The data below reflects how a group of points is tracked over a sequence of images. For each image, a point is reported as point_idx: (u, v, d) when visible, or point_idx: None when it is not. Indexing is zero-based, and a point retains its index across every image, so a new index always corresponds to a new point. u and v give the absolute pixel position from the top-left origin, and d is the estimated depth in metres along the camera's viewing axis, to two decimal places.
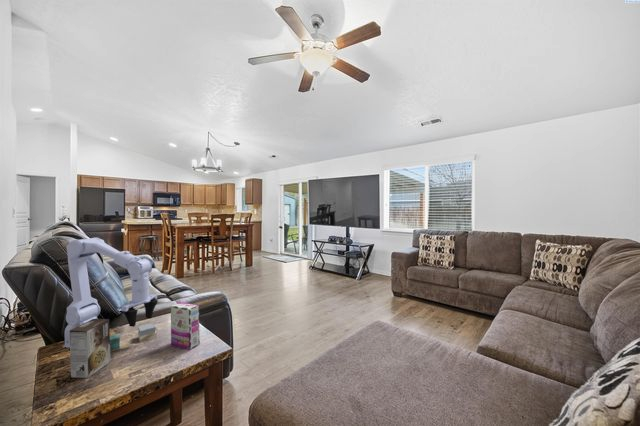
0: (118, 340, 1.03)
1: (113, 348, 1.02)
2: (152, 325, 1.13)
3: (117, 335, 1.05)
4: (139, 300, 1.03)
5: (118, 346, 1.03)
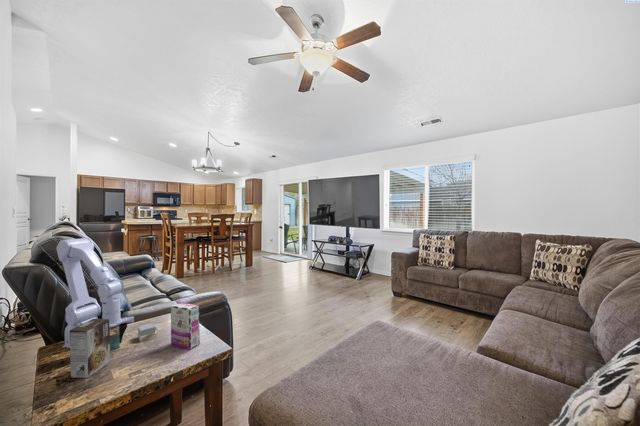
0: (118, 340, 1.03)
1: (113, 348, 1.02)
2: (152, 325, 1.14)
3: (117, 335, 1.05)
4: None
5: (118, 346, 1.03)
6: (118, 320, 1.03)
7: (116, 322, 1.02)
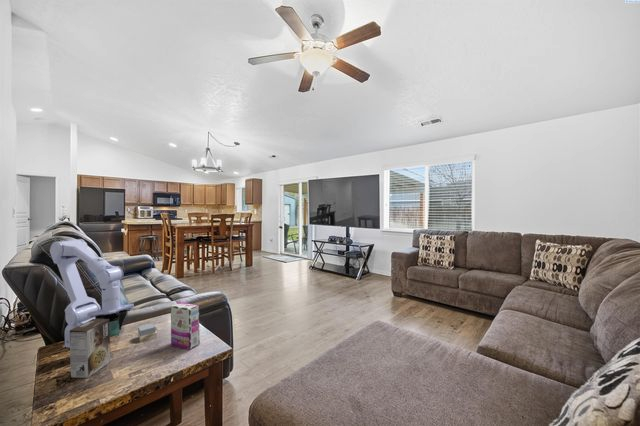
0: (118, 326, 1.03)
1: (113, 334, 1.02)
2: (152, 325, 1.13)
3: (117, 322, 1.05)
4: (104, 309, 1.00)
5: (118, 332, 1.03)
6: (118, 307, 1.03)
7: (116, 309, 1.02)
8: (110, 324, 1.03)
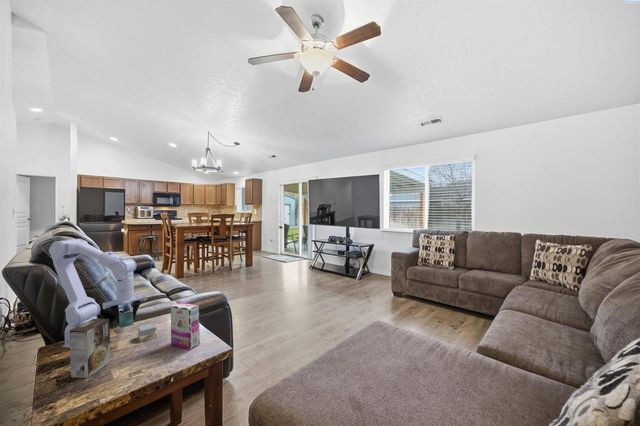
0: (132, 317, 1.06)
1: (127, 324, 1.05)
2: (152, 325, 1.13)
3: (131, 312, 1.08)
4: (119, 300, 1.04)
5: (132, 322, 1.06)
6: (132, 297, 1.06)
7: (130, 299, 1.06)
8: (124, 314, 1.06)
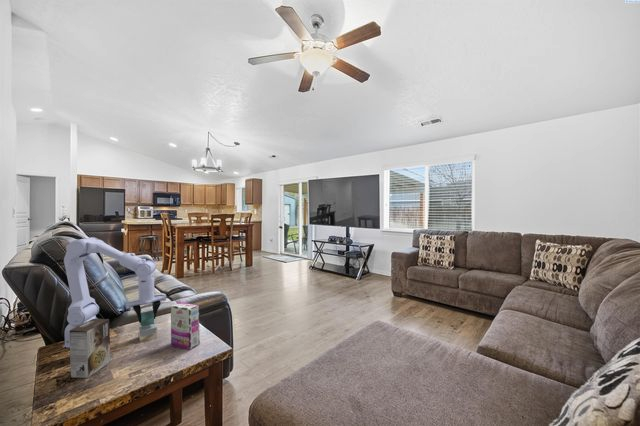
0: (153, 316, 1.12)
1: (148, 323, 1.10)
2: (153, 325, 1.13)
3: (151, 311, 1.13)
4: (141, 300, 1.09)
5: (153, 321, 1.12)
6: (153, 297, 1.12)
7: (151, 299, 1.11)
8: (146, 313, 1.11)
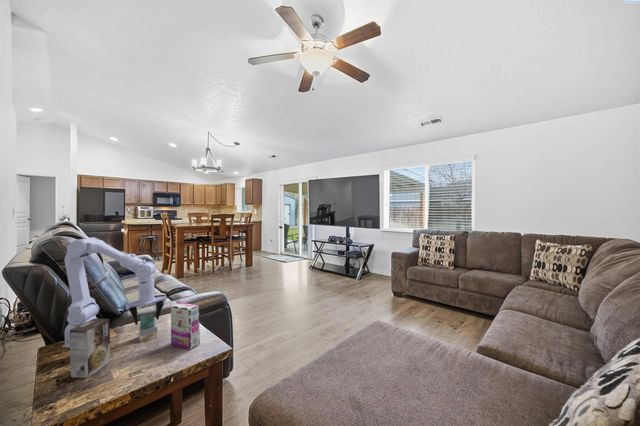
0: (153, 319, 1.12)
1: (149, 326, 1.11)
2: None
3: (151, 315, 1.13)
4: (141, 301, 1.09)
5: (153, 324, 1.12)
6: (153, 299, 1.12)
7: (151, 300, 1.11)
8: (146, 317, 1.11)
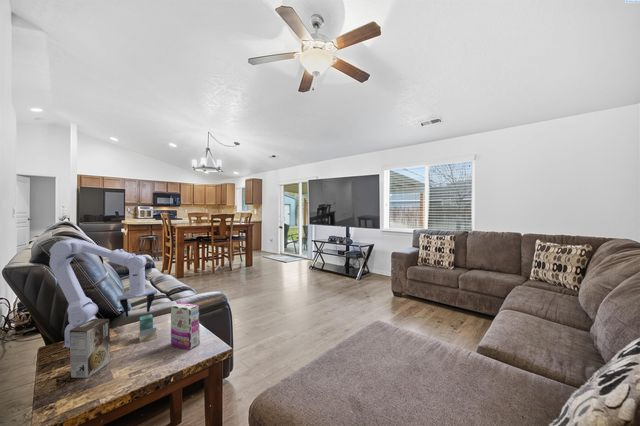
0: (151, 320, 1.11)
1: (147, 327, 1.10)
2: (153, 325, 1.13)
3: (150, 315, 1.13)
4: (131, 293, 1.10)
5: (151, 325, 1.11)
6: (143, 291, 1.13)
7: (142, 293, 1.12)
8: (145, 317, 1.11)
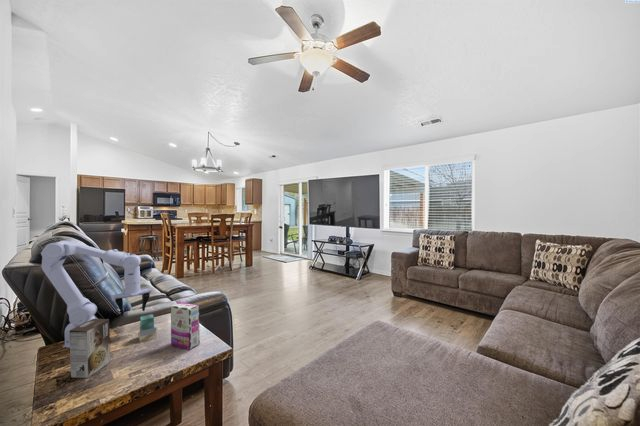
0: (153, 320, 1.11)
1: (148, 327, 1.10)
2: None
3: (151, 315, 1.13)
4: (126, 292, 1.11)
5: (153, 325, 1.11)
6: (138, 290, 1.14)
7: (137, 292, 1.13)
8: (146, 317, 1.11)
